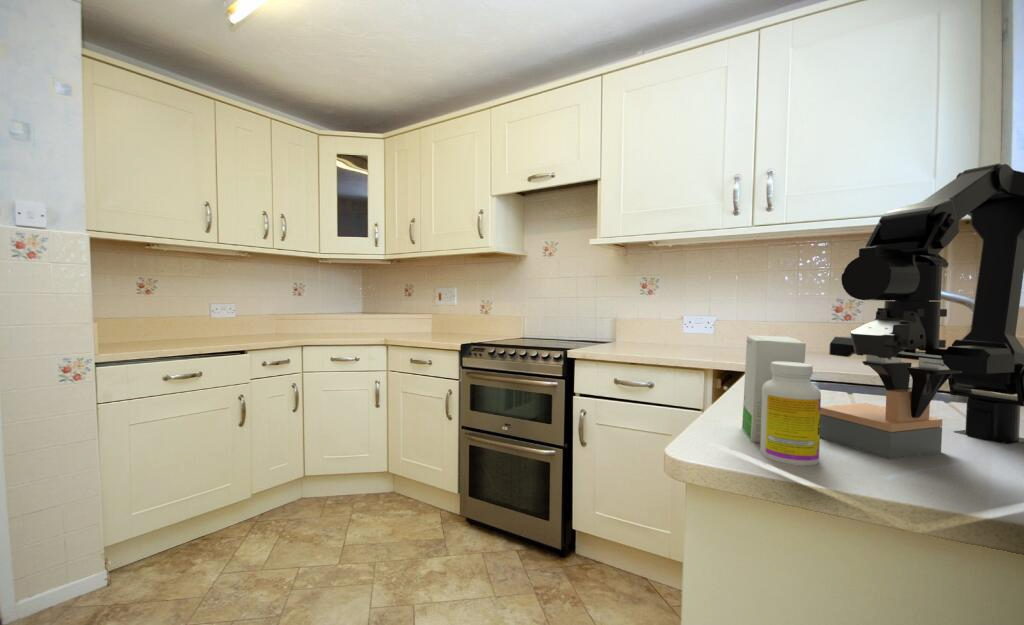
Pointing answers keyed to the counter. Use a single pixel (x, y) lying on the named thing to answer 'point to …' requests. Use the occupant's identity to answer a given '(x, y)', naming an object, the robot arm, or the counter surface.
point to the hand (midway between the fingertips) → (907, 415)
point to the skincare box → (764, 374)
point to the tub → (881, 438)
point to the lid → (885, 413)
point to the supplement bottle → (790, 415)
